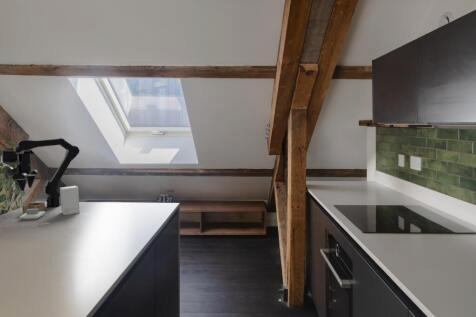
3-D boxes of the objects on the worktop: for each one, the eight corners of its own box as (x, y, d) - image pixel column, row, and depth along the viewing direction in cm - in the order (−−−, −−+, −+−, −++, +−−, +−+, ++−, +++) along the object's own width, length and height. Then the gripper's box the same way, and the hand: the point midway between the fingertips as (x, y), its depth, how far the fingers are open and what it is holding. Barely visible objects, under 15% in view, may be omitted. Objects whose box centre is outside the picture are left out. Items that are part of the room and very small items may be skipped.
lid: (45, 215, 172) (44, 206, 172) (38, 219, 164) (38, 210, 163) (27, 215, 170) (26, 207, 170) (19, 220, 162) (19, 211, 161)
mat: (53, 211, 180) (52, 211, 180) (41, 220, 164) (41, 219, 164) (31, 212, 178) (31, 212, 178) (17, 221, 162) (17, 220, 162)
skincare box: (77, 211, 182) (76, 185, 180) (80, 213, 177) (79, 186, 176) (60, 213, 177) (59, 186, 175) (63, 215, 172) (61, 188, 171)
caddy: (45, 210, 180) (44, 202, 180) (39, 214, 172) (38, 205, 172) (29, 211, 179) (28, 202, 178) (22, 215, 171) (22, 206, 170)
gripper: (16, 160, 188) (18, 186, 190) (0, 164, 170) (2, 193, 172) (37, 160, 190) (39, 186, 192) (23, 163, 172) (25, 192, 174)
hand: (26, 189), depth 182 cm, fingers open, 9 cm apart
